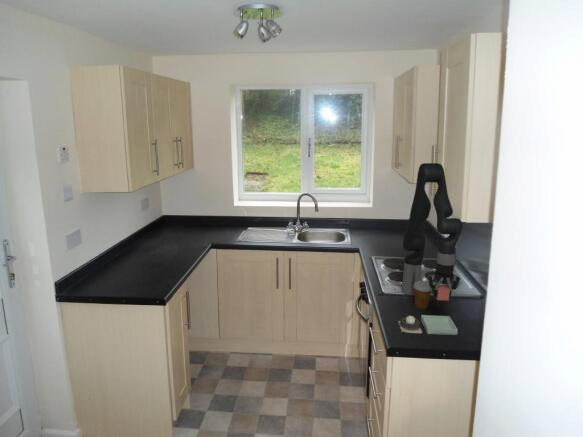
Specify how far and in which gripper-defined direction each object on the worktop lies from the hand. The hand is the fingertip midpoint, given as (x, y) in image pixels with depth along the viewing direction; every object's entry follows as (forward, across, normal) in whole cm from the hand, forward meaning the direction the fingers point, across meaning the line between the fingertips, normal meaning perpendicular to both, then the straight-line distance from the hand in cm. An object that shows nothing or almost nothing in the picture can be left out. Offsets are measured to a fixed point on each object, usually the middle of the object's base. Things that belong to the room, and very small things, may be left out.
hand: (441, 297), depth 203 cm
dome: (+13, +13, +2) cm, 19 cm away
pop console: (+15, +14, +2) cm, 20 cm away
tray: (+15, 0, 0) cm, 15 cm away
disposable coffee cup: (+15, +3, -22) cm, 27 cm away
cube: (0, 0, 0) cm, 0 cm away
